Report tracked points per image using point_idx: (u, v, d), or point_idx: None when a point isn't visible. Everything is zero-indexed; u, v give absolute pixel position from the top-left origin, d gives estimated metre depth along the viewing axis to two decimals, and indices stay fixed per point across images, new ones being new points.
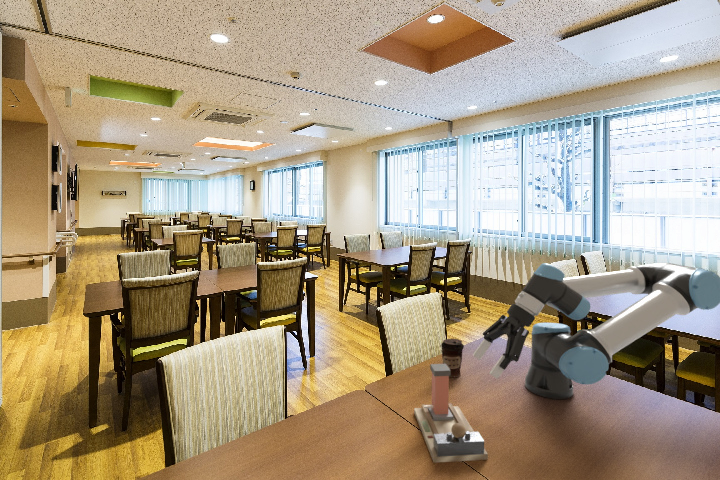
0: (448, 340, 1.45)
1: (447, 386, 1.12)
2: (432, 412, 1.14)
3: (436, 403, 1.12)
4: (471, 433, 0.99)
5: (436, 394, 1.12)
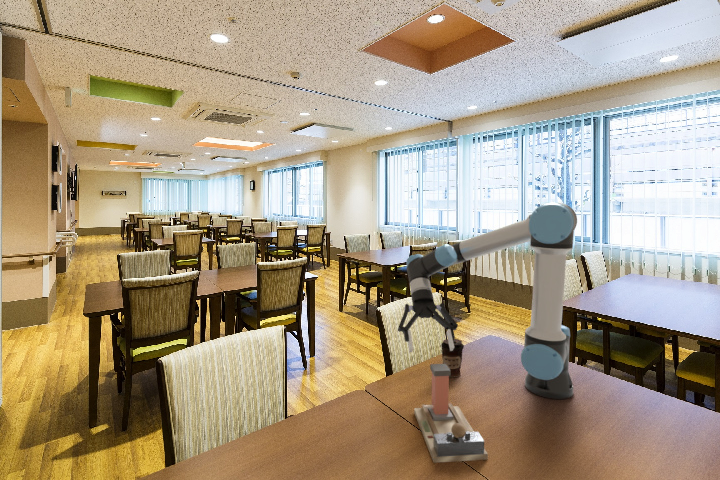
0: None
1: (447, 386, 1.12)
2: (432, 412, 1.14)
3: (436, 403, 1.12)
4: (471, 433, 0.99)
5: (436, 394, 1.12)
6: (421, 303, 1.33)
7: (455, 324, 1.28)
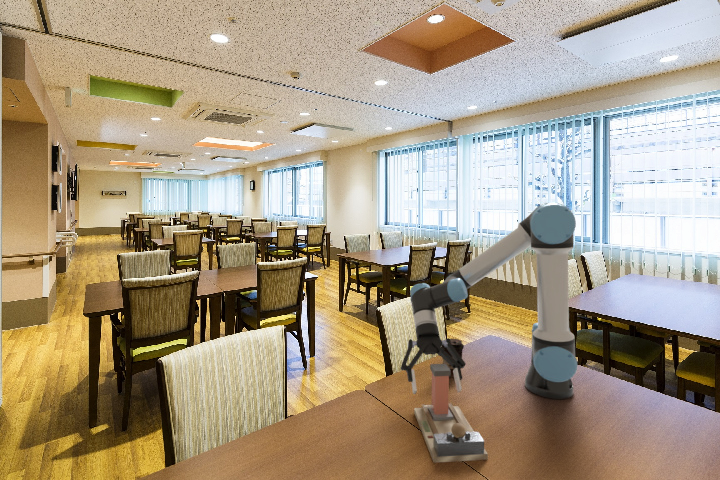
0: None
1: (447, 386, 1.12)
2: (432, 412, 1.14)
3: (436, 403, 1.12)
4: (471, 433, 0.99)
5: (436, 394, 1.12)
6: (426, 338, 1.24)
7: (462, 362, 1.19)
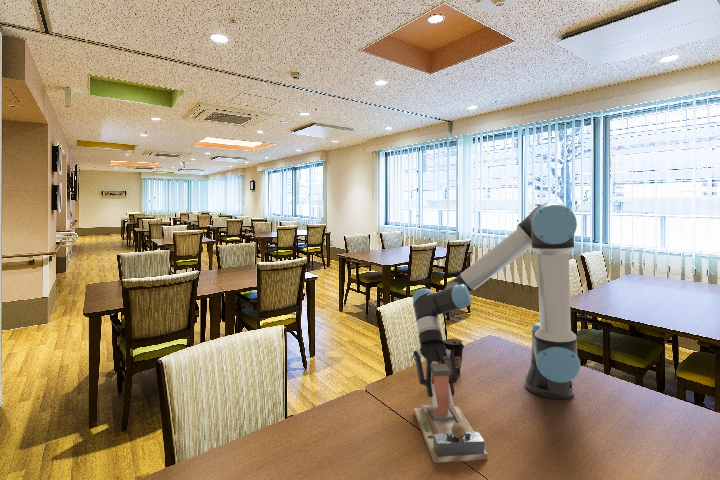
0: (448, 340, 1.45)
1: (447, 386, 1.12)
2: (432, 412, 1.14)
3: None
4: (471, 433, 0.99)
5: (436, 394, 1.12)
6: (429, 345, 1.21)
7: (455, 377, 1.15)
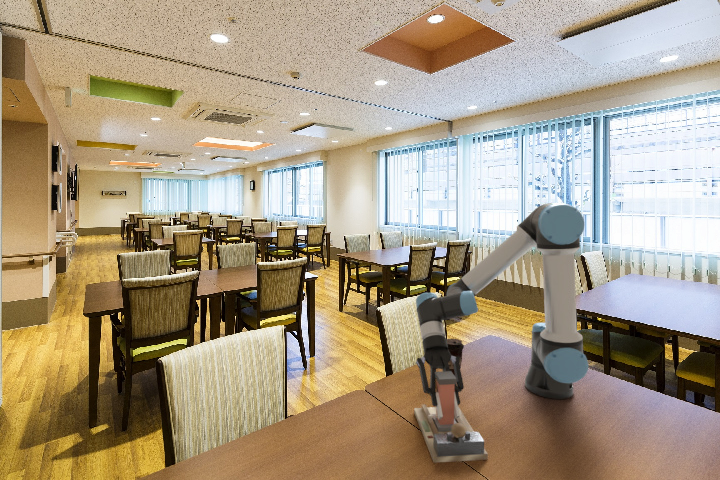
0: (448, 340, 1.45)
1: (453, 395, 1.07)
2: (436, 422, 1.09)
3: None
4: (471, 433, 0.99)
5: (441, 403, 1.07)
6: (434, 351, 1.16)
7: (461, 385, 1.10)
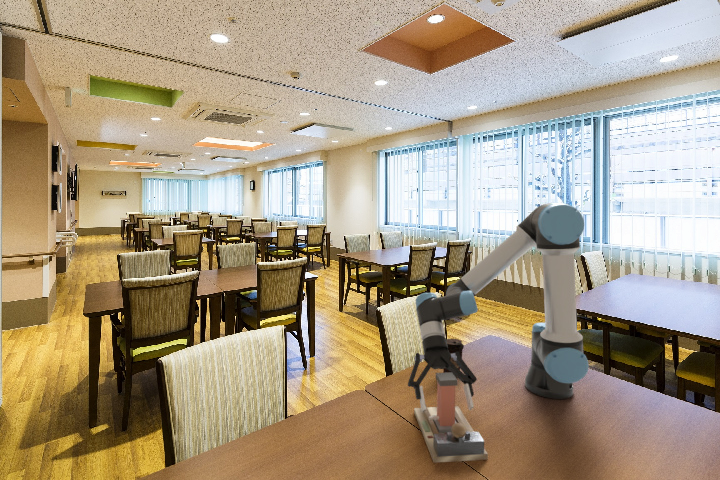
0: (448, 340, 1.45)
1: (453, 396, 1.06)
2: (437, 423, 1.08)
3: (442, 414, 1.06)
4: (471, 433, 0.99)
5: (442, 405, 1.06)
6: (434, 352, 1.16)
7: (473, 377, 1.12)
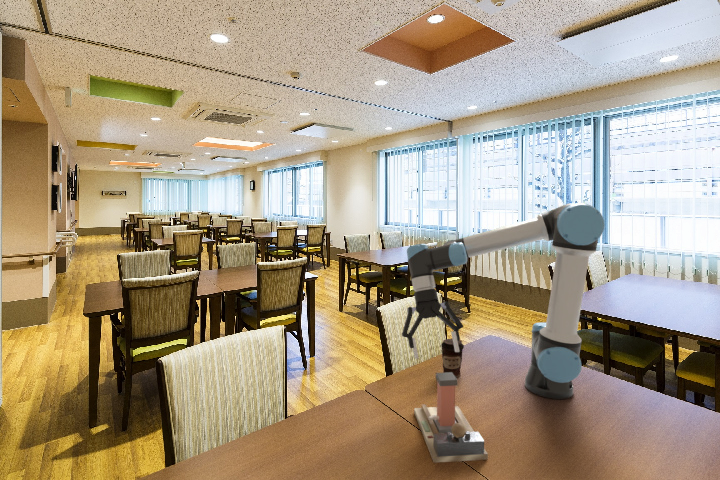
0: (448, 340, 1.45)
1: (453, 396, 1.06)
2: (437, 423, 1.08)
3: (442, 414, 1.06)
4: (471, 433, 0.99)
5: (442, 405, 1.06)
6: (425, 304, 1.25)
7: (460, 325, 1.24)
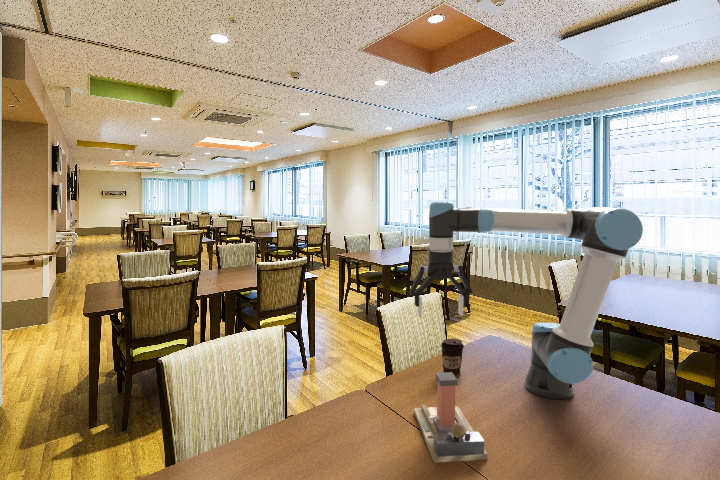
0: (448, 340, 1.45)
1: (453, 396, 1.06)
2: (437, 423, 1.08)
3: (442, 414, 1.06)
4: (471, 433, 0.99)
5: (442, 405, 1.06)
6: (438, 265, 1.21)
7: (470, 290, 1.22)
